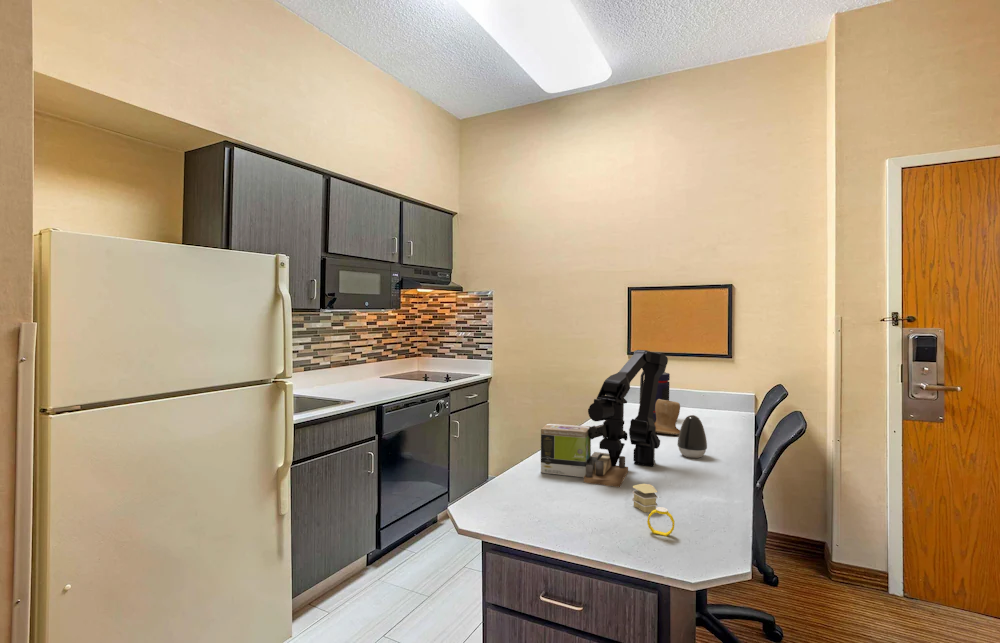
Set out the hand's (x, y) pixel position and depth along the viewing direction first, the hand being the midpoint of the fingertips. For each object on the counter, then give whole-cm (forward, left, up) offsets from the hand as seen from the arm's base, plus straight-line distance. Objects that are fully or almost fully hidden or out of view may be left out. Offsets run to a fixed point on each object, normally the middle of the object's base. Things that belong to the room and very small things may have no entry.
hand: (613, 466), depth 162 cm
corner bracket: (+4, -1, -1) cm, 4 cm away
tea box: (+15, +3, -3) cm, 16 cm away
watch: (-18, +41, -3) cm, 44 cm away
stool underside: (+2, +3, -3) cm, 4 cm away
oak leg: (+3, +3, -1) cm, 4 cm away
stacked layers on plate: (-13, +25, -3) cm, 28 cm away
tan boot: (-10, -69, -3) cm, 70 cm away
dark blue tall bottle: (-4, -93, -3) cm, 94 cm away
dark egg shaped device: (-23, -34, -3) cm, 41 cm away
